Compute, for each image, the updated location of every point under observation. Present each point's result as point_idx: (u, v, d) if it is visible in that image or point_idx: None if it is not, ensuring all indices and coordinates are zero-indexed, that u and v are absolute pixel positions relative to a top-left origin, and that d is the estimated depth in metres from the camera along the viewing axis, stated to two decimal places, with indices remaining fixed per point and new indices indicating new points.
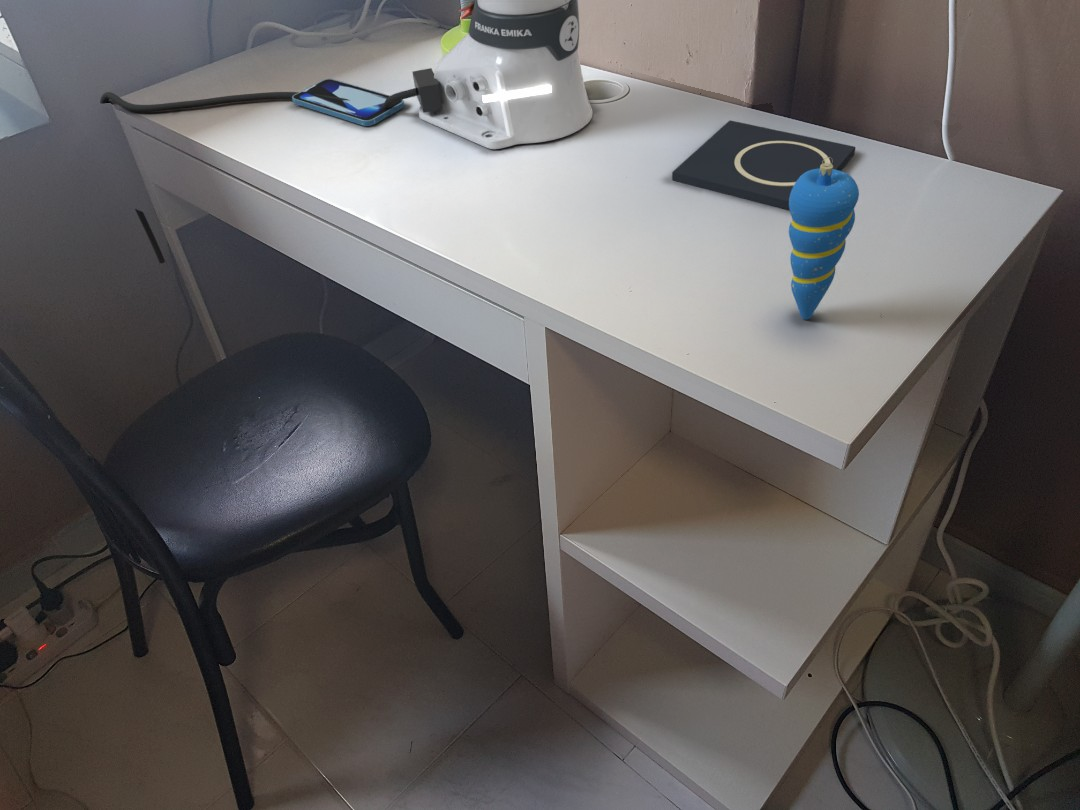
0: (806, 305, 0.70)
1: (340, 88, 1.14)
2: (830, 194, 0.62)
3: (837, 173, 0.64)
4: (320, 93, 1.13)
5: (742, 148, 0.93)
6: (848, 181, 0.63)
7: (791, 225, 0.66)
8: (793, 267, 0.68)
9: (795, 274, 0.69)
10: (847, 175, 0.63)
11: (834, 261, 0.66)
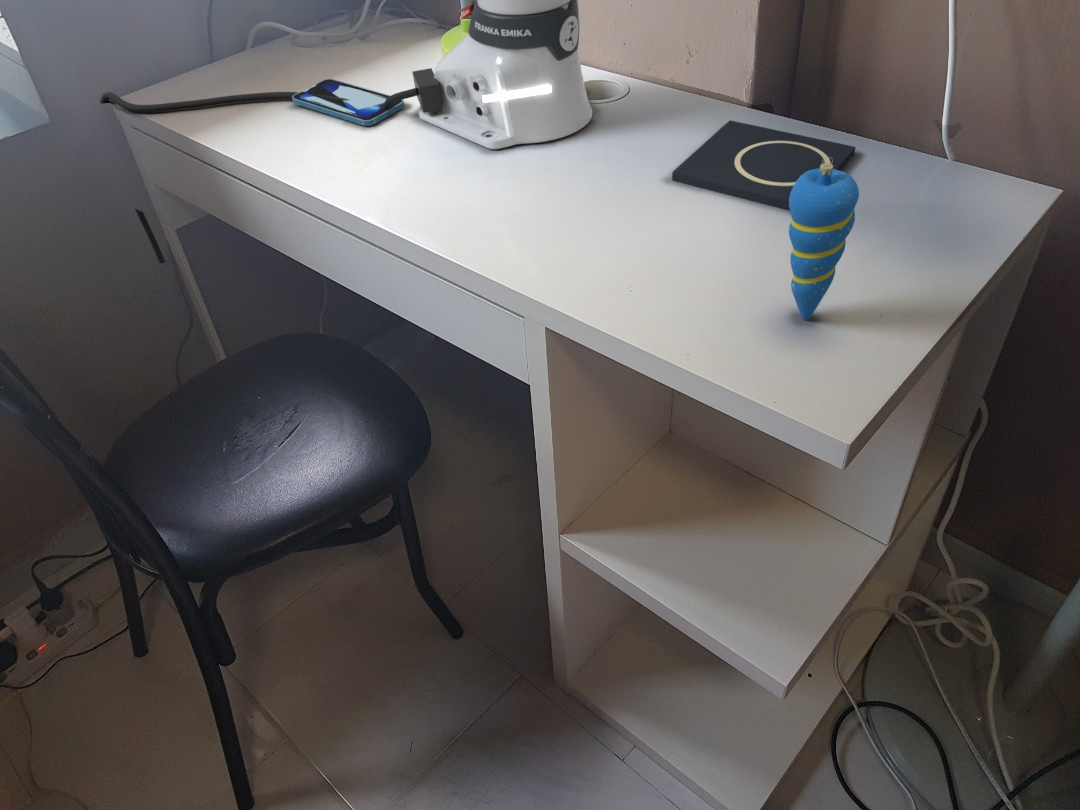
0: (806, 305, 0.70)
1: (340, 88, 1.14)
2: (830, 194, 0.62)
3: (837, 173, 0.64)
4: (320, 93, 1.13)
5: (742, 148, 0.93)
6: (848, 181, 0.63)
7: (791, 225, 0.66)
8: (793, 267, 0.68)
9: (795, 274, 0.69)
10: (847, 175, 0.63)
11: (834, 261, 0.66)
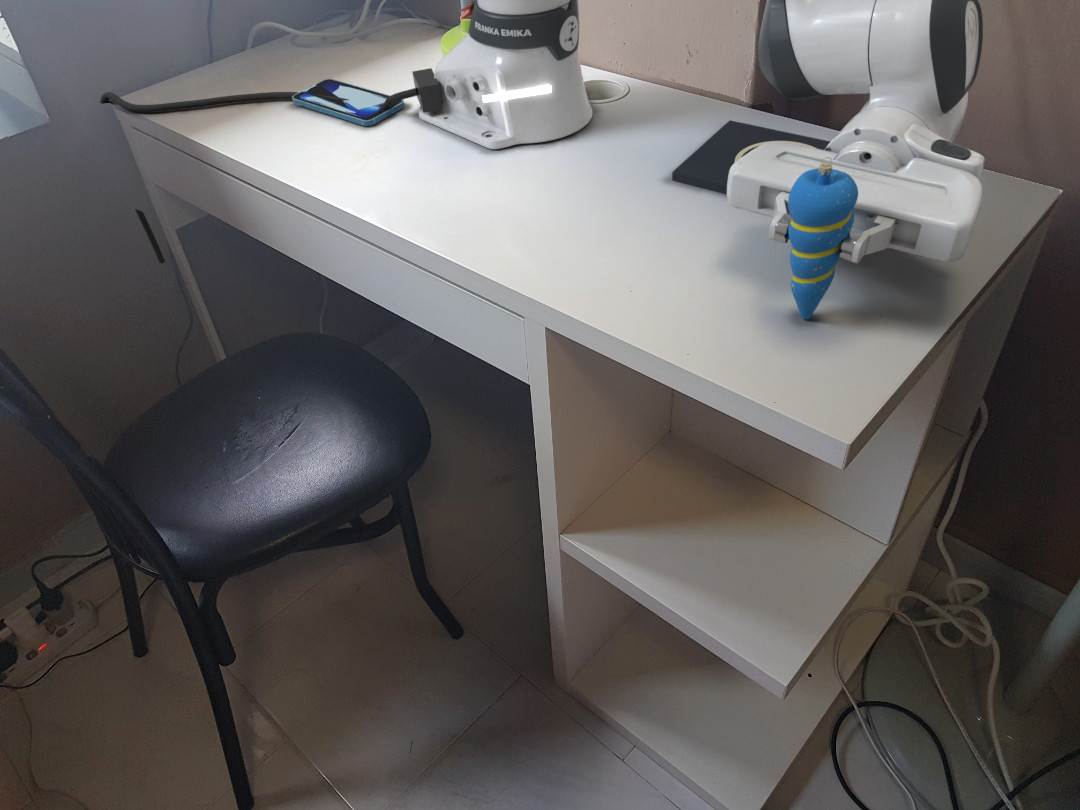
0: (805, 305, 0.70)
1: (340, 88, 1.14)
2: (829, 194, 0.62)
3: (836, 173, 0.64)
4: (320, 93, 1.13)
5: (742, 148, 0.93)
6: (847, 181, 0.63)
7: (790, 225, 0.66)
8: (793, 267, 0.68)
9: (794, 274, 0.69)
10: (846, 175, 0.63)
11: (834, 261, 0.66)
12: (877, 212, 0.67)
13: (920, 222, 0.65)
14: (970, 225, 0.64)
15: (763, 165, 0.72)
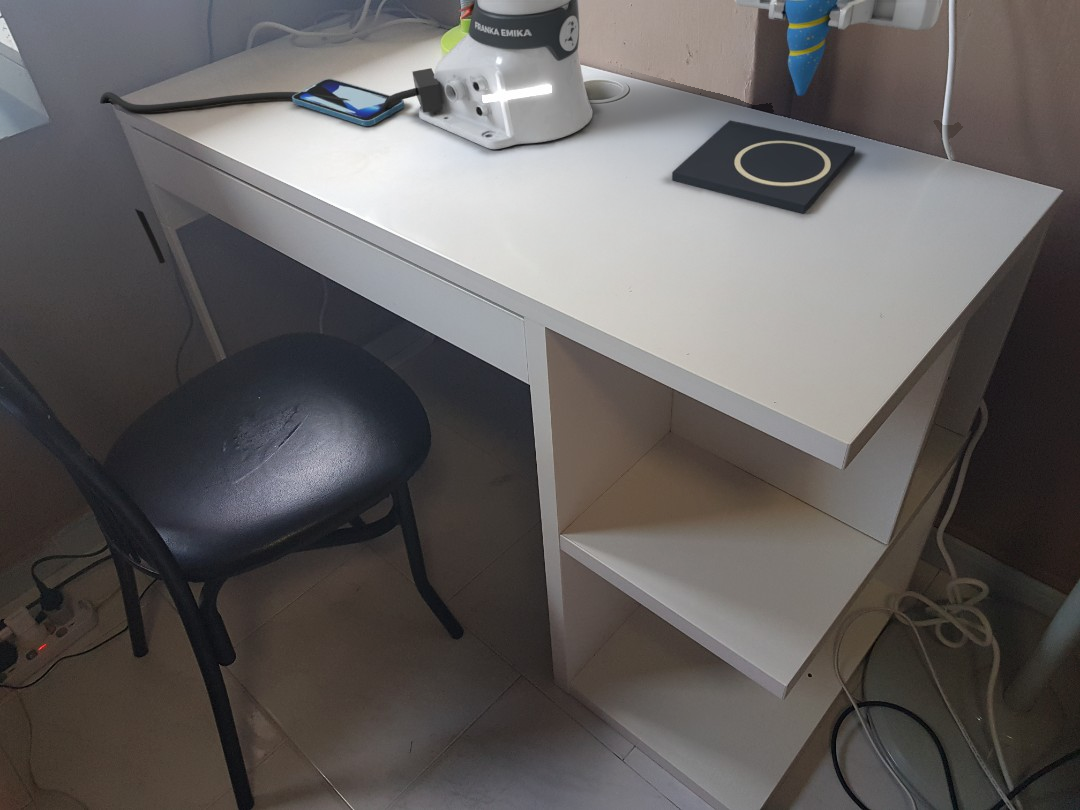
0: (800, 78, 0.83)
1: (340, 88, 1.14)
2: None
3: None
4: (320, 93, 1.13)
5: (742, 148, 0.93)
6: None
7: None
8: (789, 41, 0.81)
9: (791, 49, 0.81)
10: None
11: (824, 30, 0.79)
12: None
13: None
14: None
15: None
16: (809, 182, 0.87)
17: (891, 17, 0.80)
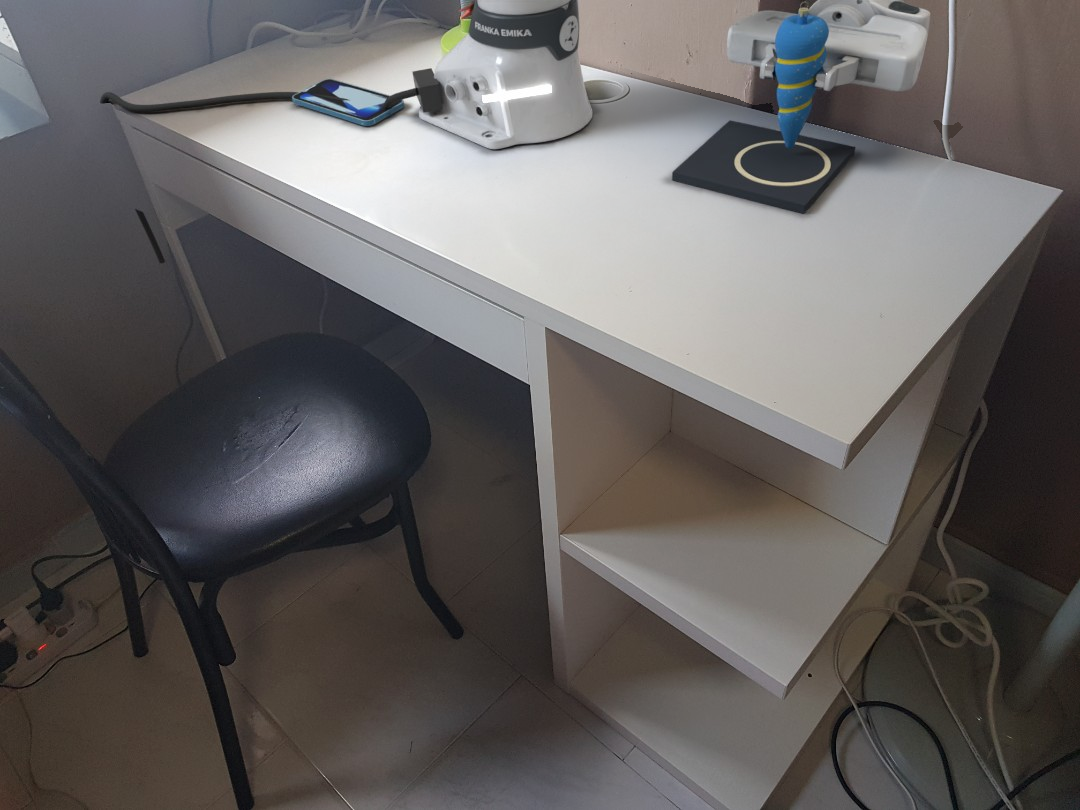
0: (789, 133, 0.88)
1: (340, 88, 1.14)
2: (806, 30, 0.80)
3: (812, 17, 0.82)
4: (320, 93, 1.13)
5: (742, 148, 0.93)
6: (820, 21, 0.81)
7: (777, 62, 0.84)
8: (779, 99, 0.86)
9: (780, 106, 0.87)
10: (820, 18, 0.81)
11: (811, 91, 0.85)
12: (845, 53, 0.85)
13: (878, 58, 0.83)
14: (916, 58, 0.82)
15: (755, 25, 0.90)
16: (809, 182, 0.87)
17: (873, 78, 0.85)
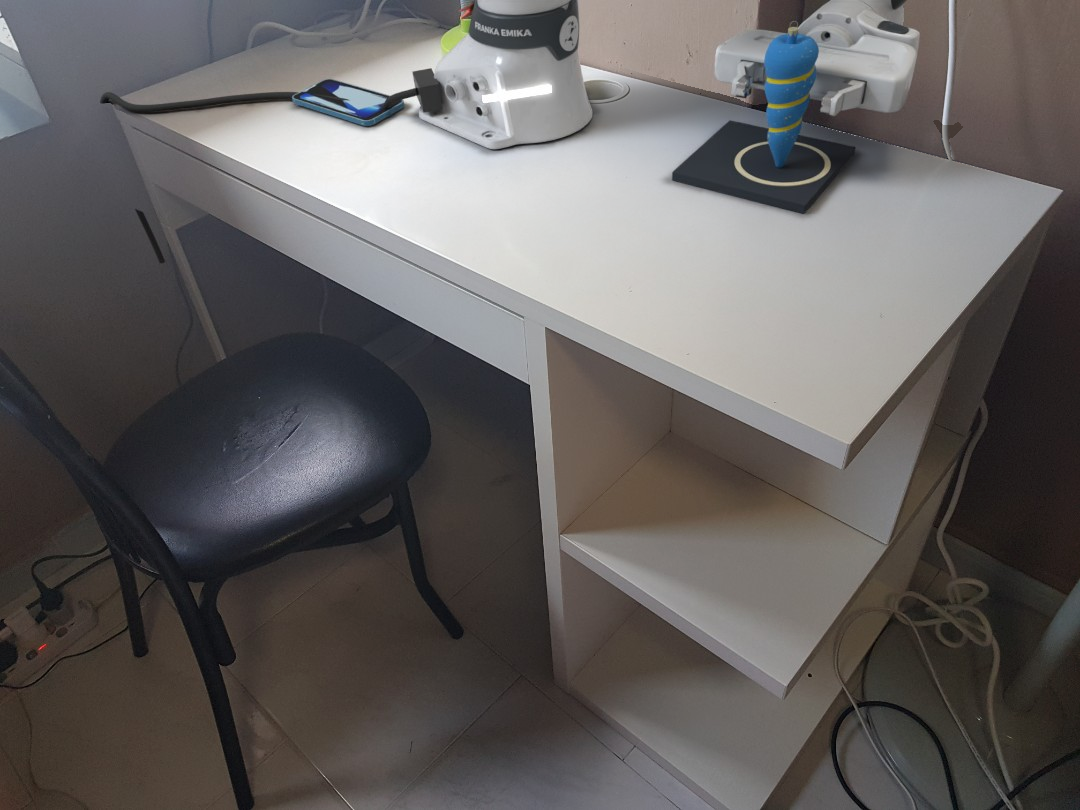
0: (779, 152, 0.87)
1: (340, 88, 1.14)
2: (795, 49, 0.79)
3: (802, 36, 0.81)
4: (320, 93, 1.13)
5: (742, 148, 0.93)
6: (810, 41, 0.80)
7: (766, 81, 0.83)
8: (768, 119, 0.85)
9: (770, 126, 0.86)
10: (809, 37, 0.80)
11: (800, 111, 0.83)
12: (833, 74, 0.84)
13: (866, 79, 0.82)
14: (905, 79, 0.81)
15: (743, 45, 0.89)
16: (809, 182, 0.87)
17: (862, 99, 0.84)
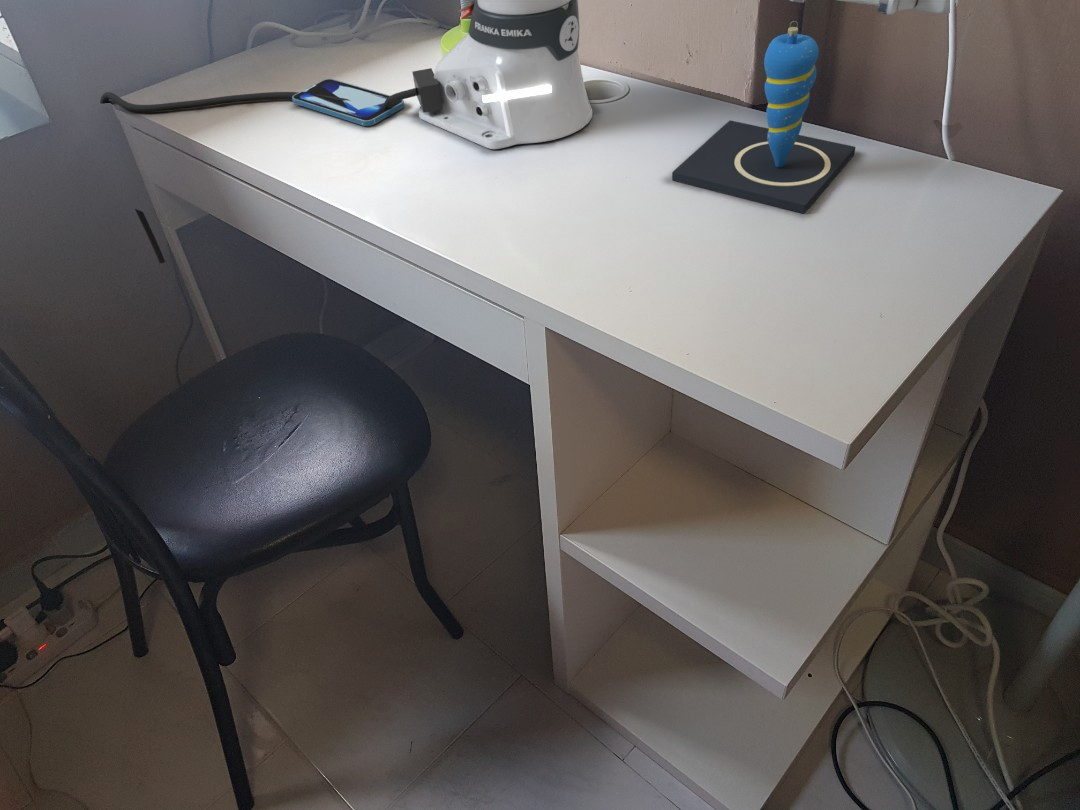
0: (779, 153, 0.87)
1: (340, 88, 1.14)
2: (795, 50, 0.79)
3: (802, 36, 0.81)
4: (320, 93, 1.13)
5: (742, 148, 0.93)
6: (810, 41, 0.80)
7: (766, 81, 0.83)
8: (768, 119, 0.85)
9: (770, 126, 0.86)
10: (809, 37, 0.80)
11: (800, 111, 0.83)
12: None
13: None
14: None
15: None
16: (809, 182, 0.87)
17: (916, 2, 0.88)
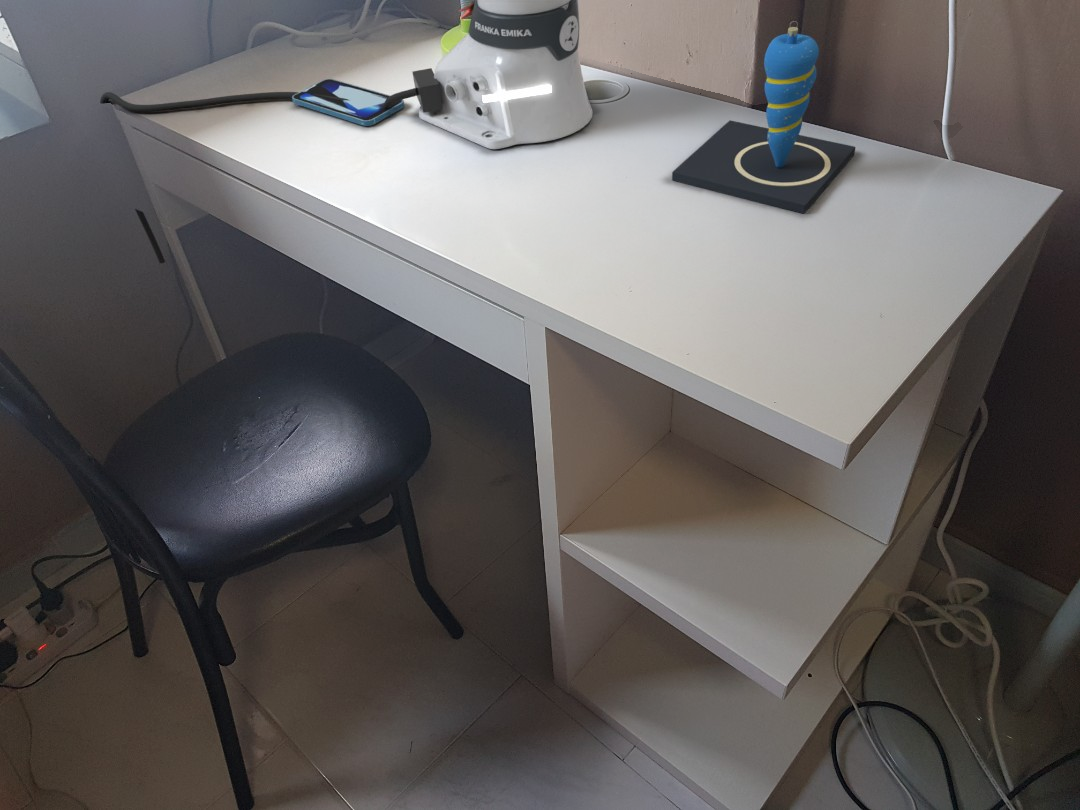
0: (779, 153, 0.87)
1: (340, 88, 1.14)
2: (795, 50, 0.79)
3: (802, 36, 0.81)
4: (320, 93, 1.13)
5: (742, 148, 0.93)
6: (810, 41, 0.80)
7: (766, 81, 0.83)
8: (768, 119, 0.85)
9: (770, 126, 0.86)
10: (809, 37, 0.80)
11: (800, 111, 0.83)
12: None
13: None
14: None
15: None
16: (809, 182, 0.87)
17: None
